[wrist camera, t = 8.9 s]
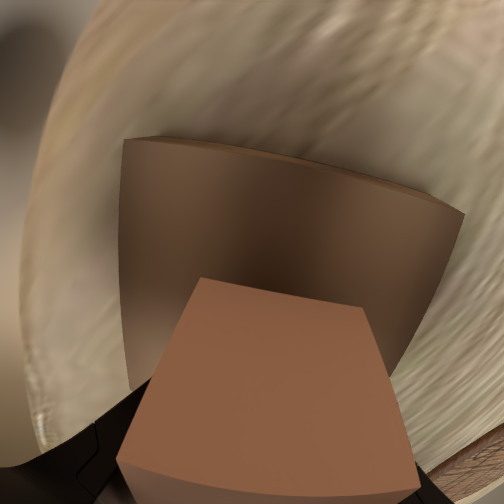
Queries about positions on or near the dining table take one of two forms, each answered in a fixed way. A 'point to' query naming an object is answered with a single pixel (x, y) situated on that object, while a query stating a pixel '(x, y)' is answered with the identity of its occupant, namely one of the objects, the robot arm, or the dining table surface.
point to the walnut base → (270, 239)
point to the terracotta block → (268, 407)
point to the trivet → (471, 466)
